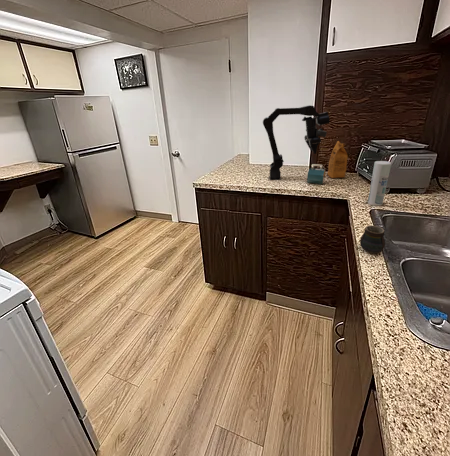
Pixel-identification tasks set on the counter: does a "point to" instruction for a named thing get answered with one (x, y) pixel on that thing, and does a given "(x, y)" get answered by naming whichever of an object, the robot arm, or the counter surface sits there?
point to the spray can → (379, 182)
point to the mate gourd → (373, 239)
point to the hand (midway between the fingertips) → (313, 152)
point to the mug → (316, 175)
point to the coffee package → (338, 161)
